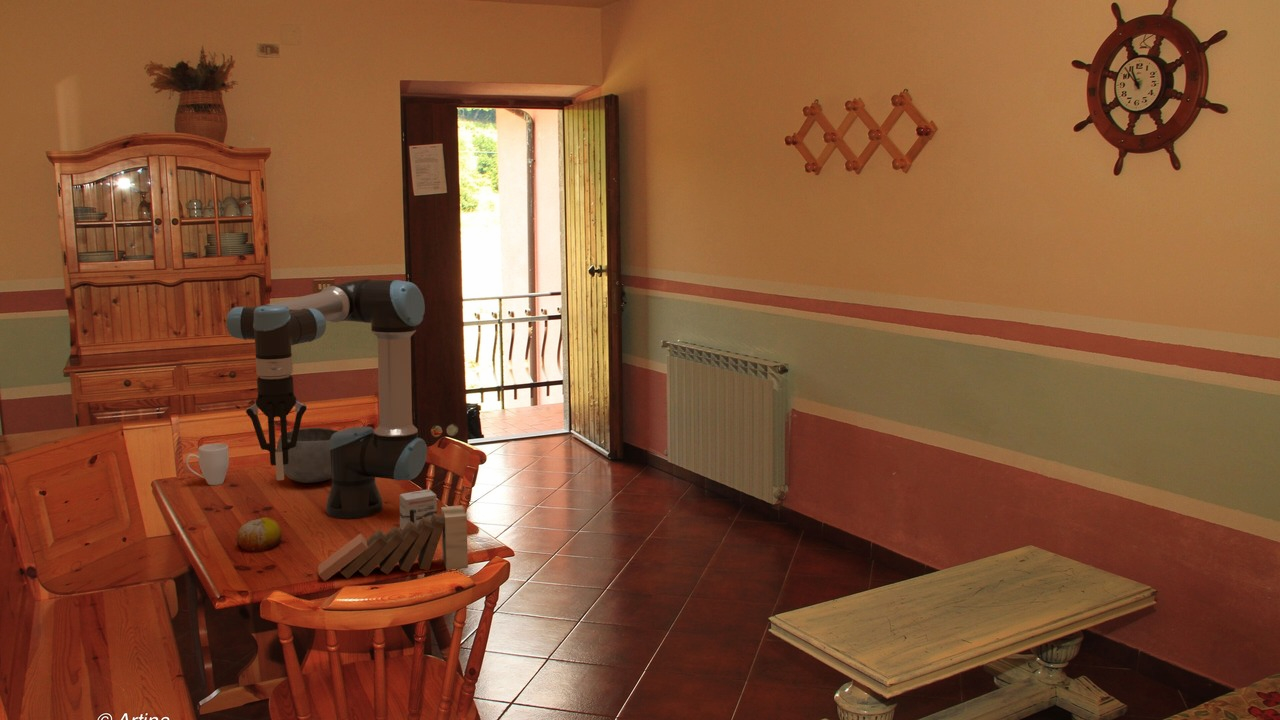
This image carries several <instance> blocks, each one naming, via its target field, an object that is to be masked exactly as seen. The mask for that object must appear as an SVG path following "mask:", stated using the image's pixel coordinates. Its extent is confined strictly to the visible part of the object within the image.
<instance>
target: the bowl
mask: <svg viewBox="0 0 1280 720" xmlns="http://www.w3.org/2000/svg"><path fill="white" fill-rule="evenodd" d="M338 431H339V430H337V429H336V430H334V429H333V428H332V429H330V428H322V427H308V428H299V433H298V438H297V443H296V447H294V448H291V449H289V450H288V458H289V462H288V464H284V476H286V477H288V478H289V479H291V480H293V481H295V482H299V483H301V484H302V483H304V484H313V483H314V484H316V483H321V482H325V481H328V480H330V479H332V475H331V456H330V438H331V436H332V435H333V434H334V433H335V432H338ZM292 433H293V430H291V431H287V438H288V442H290V441H291V438H292ZM276 449H282V441H281V435H280V436H279V438H278V441H277V443H276Z"/></svg>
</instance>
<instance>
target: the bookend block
mask: <svg viewBox="0 0 1280 720" xmlns="http://www.w3.org/2000/svg"><path fill="white" fill-rule="evenodd" d="M440 510H441V514H440V515H442V517H443V519H444V522H445V525H444V528H443V531H442V533H441V545H442V546H441V549H442V550H441V551H442V561H443V564H444V566H445V570H446V571H451V570H459V569H461V570H463V569H468V568H469V566H468V565H469V563H468V562H469V561H468V517H467V516H468V515H467V514H466V513H467V512H466V511H465V508H464V506H463V505H462V504H461V505H450V506H441V509H440Z"/></svg>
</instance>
